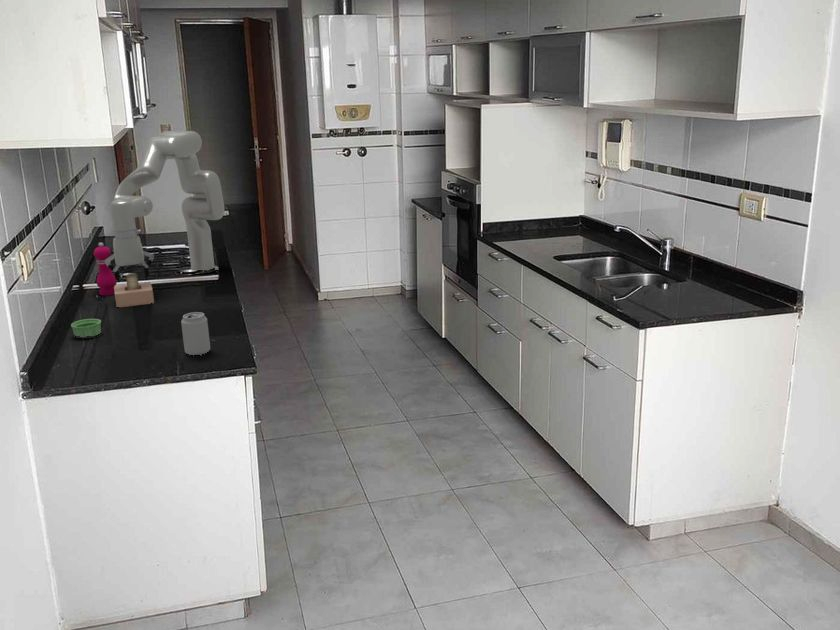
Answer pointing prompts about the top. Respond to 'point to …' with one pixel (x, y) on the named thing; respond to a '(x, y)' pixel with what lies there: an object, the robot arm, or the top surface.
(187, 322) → the can
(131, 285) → the peg
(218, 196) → the robot arm
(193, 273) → the top surface
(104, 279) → the pepper mill
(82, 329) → the ramekin
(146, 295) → the socket
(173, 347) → the top surface
